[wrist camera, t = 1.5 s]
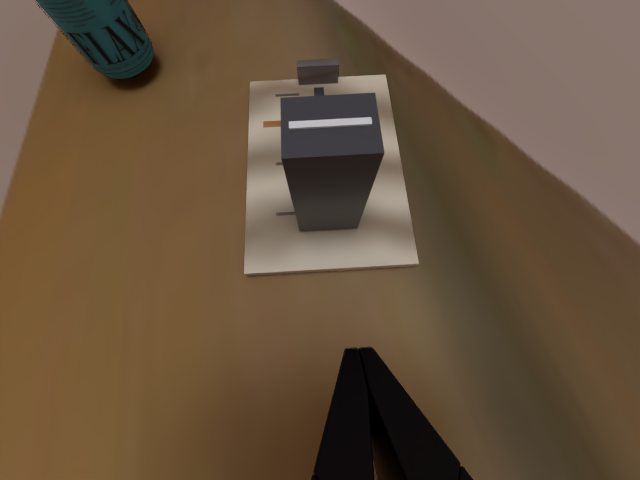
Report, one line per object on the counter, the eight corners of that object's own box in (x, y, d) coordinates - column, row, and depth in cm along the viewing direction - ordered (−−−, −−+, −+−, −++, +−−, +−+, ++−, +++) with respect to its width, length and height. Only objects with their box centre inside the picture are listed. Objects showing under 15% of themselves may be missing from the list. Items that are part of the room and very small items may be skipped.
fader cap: (357, 228, 22) (384, 151, 12) (299, 231, 22) (280, 157, 12) (353, 189, 23) (375, 90, 13) (298, 192, 23) (279, 96, 13)
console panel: (414, 266, 22) (428, 257, 19) (247, 276, 22) (236, 268, 19) (383, 83, 28) (390, 55, 25) (252, 90, 28) (244, 63, 25)
